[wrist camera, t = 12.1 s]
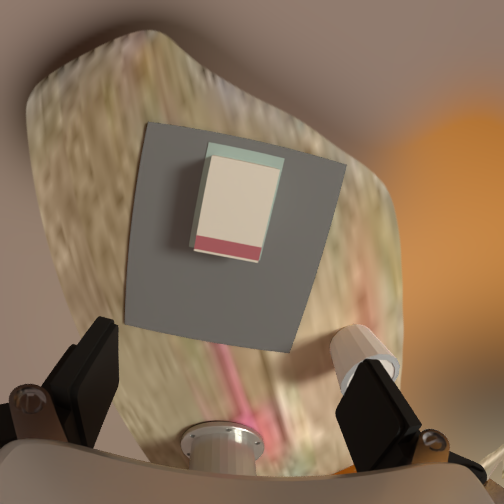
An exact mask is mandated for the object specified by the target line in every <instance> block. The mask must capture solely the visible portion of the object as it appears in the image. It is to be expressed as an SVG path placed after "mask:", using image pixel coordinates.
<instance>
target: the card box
mask: <svg viewBox="0 0 504 504" xmlns="http://www.w3.org/2000/svg"><path fill="white" fill-rule="evenodd" d="M279 173H280V170H279V169H277V168H274V167H270V166H266V165H261V164H257V163H252V162H247V161H243V160H238V159H233V158H228V157H223V156H218V155H212V158H211V162H210V167H209V172H208V177H207V182H206V187H205V192H204V197H203V202H202V208H201V213H200V218H199V224H198V229H197V235H196V240H195V246H194V251H197V252H202V253H208V254H213V255H218V256H223V257H229V258H234V259H239V260H245V261H250V262H255V263H258V261H259V257H260V253H261V249H262V244H263V240H264V236H265V232H266V227H267V223H268V219H269V215H270V211H271V207H272V202H273V198H274V194H275V190H276V186H277V181H278V177H279Z"/></svg>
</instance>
